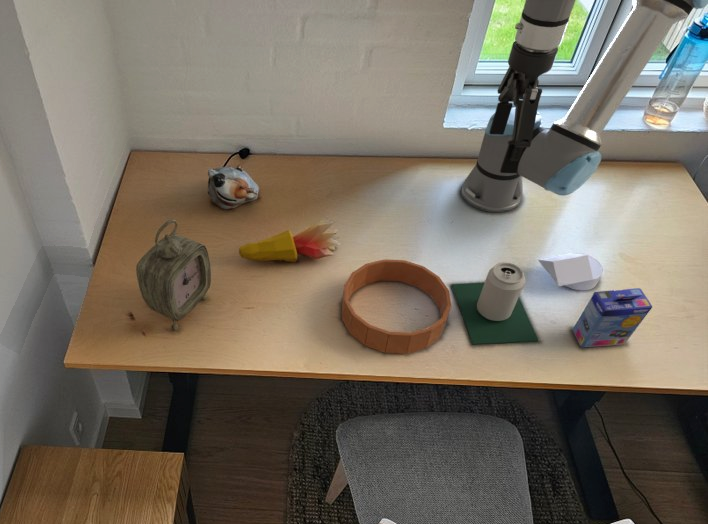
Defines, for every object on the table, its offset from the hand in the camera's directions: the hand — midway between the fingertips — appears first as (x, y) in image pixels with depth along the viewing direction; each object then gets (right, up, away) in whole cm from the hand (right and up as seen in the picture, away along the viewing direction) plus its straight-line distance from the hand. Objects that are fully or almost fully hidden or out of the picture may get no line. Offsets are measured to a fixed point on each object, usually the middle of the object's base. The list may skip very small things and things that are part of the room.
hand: (501, 152), depth 120 cm
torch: (-41, -17, +28) cm, 52 cm away
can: (+3, -31, +13) cm, 34 cm away
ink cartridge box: (+24, -37, +8) cm, 45 cm away
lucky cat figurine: (-55, 0, +43) cm, 69 cm away
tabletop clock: (-67, -31, +17) cm, 75 cm away
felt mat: (+3, -31, +14) cm, 34 cm away
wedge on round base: (+23, -23, +20) cm, 39 cm away
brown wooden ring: (-19, -32, +14) cm, 39 cm away
